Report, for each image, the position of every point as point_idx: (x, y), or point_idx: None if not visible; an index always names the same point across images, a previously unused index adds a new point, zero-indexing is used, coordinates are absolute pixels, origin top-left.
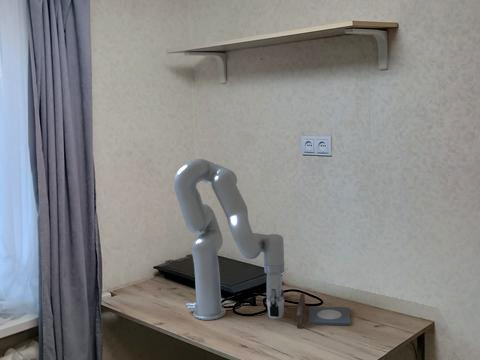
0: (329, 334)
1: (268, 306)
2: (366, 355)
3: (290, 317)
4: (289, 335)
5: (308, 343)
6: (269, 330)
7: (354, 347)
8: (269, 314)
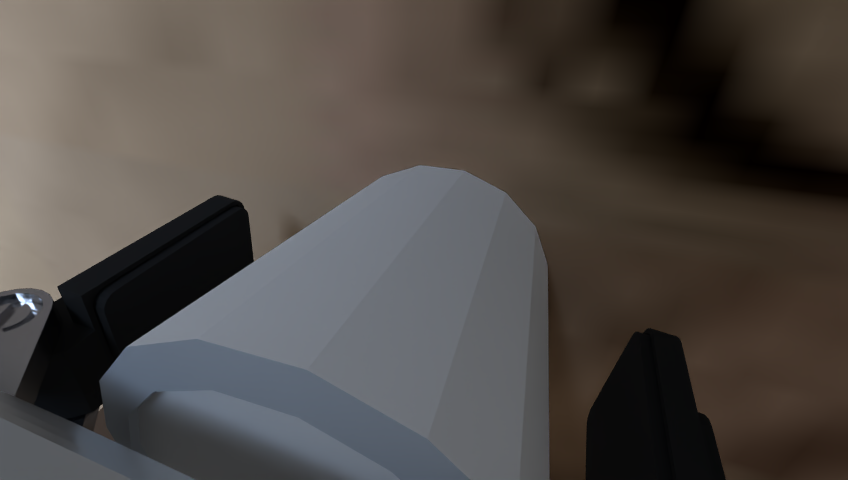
0: None
1: (273, 253)
2: None
3: None
4: (47, 268)
5: None
6: (51, 119)
7: None
8: (362, 190)
